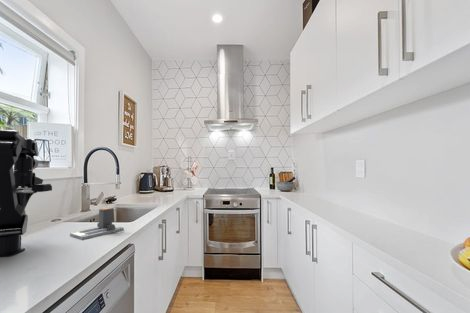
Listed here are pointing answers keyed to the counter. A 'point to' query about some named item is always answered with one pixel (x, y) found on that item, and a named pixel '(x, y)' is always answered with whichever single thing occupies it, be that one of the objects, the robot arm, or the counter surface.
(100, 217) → the handle
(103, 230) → the breaker panel
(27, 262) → the counter surface
